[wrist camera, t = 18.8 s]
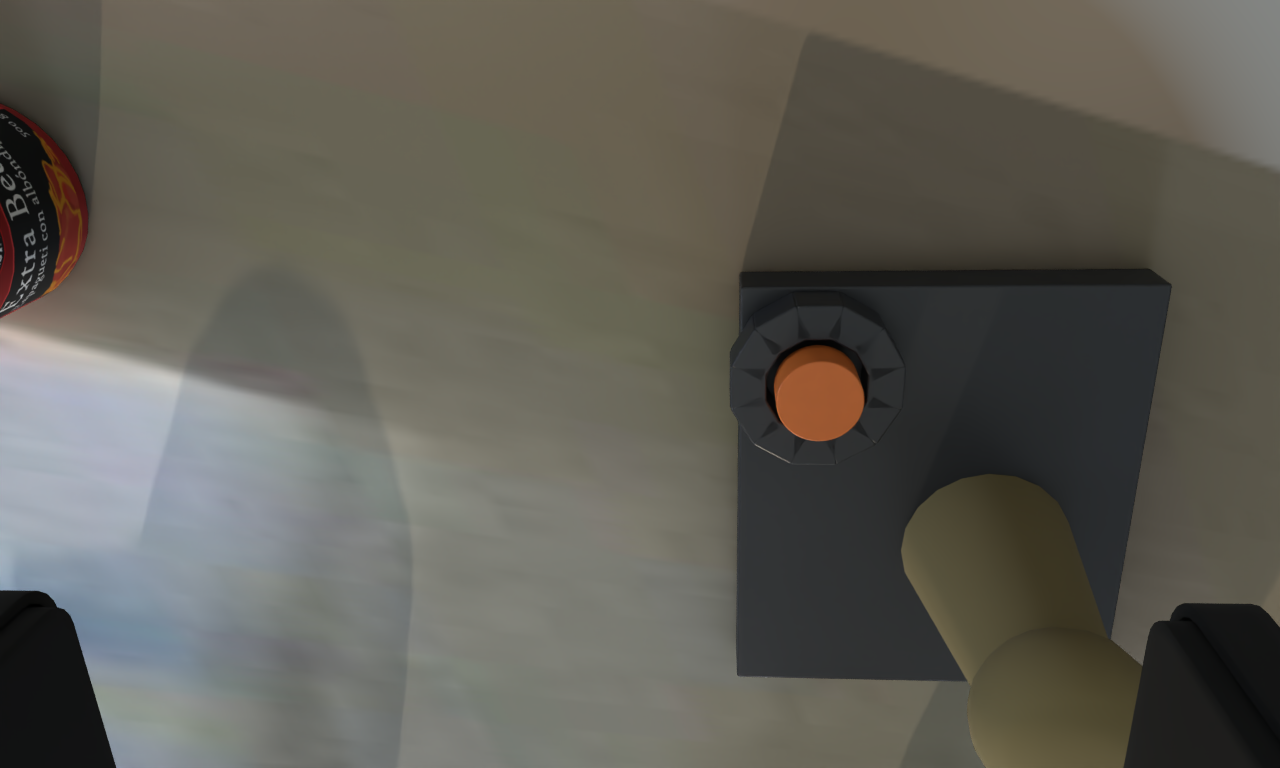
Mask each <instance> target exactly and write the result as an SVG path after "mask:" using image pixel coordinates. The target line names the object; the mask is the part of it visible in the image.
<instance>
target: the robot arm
mask: <svg viewBox="0 0 1280 768" xmlns="http://www.w3.org/2000/svg"><path fill="white" fill-rule="evenodd" d="M0 768H116V765H115V762H114V758H113V755H112V752H111V748H110V745H109V741H108V738H107V735H106V731H105V728H104V725H103V721H102V718H101V714H100V711H99V708H98V704H97V701H96V698H95V694H94V691H93V687H92V684H91V681H90V677H89V674H88V670H87V667H86V664H85V660H84V657H83V654H82V650H81V647H80V643H79V640H78V637H77V633H76V630H75V626H74V623H73V621H72V619H71V616H70V615H69V614H68V613H67V612H66V611H65V610H64V609H61V608H57V606H56V604H55V602H54V600H53V599H52V598H51V597H50V596H49V595H48V594H46V593H43V592H40V591H0ZM1123 768H1280V627H1279V626H1278V625H1277V624H1276V622H1275V621H1274V620H1273V619H1272V618H1271V616H1270V615H1269V614H1268V613H1267V612H1266V611H1265V610H1263V609H1262V608H1261V607H1260V606H1257V605H1253V604H1202V603H1183V604H1181V605H1179V606H1177V607H1176V609H1175V610H1174V612H1173V613H1172V615H1171V619H1170V621H1158V622H1155V623H1154V624H1153V626H1152V627H1151V629H1150V632H1149V636H1148V640H1147V646H1146V651H1145V656H1144V661H1143V667H1142V672H1141V677H1140V683H1139V688H1138V693H1137V698H1136V704H1135V709H1134V714H1133V720H1132V725H1131V730H1130V736H1129V741H1128V746H1127V751H1126V757H1125V762H1124V767H1123Z"/></svg>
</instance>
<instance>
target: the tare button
mask: <svg viewBox="0 0 1280 768" xmlns="http://www.w3.org/2000/svg"><path fill="white" fill-rule="evenodd" d="M774 393H775V400H776V408H777V412H778V415H779V418H780V420H781V421H782V423H783V424H784V426H785V427H786V428H787V429H788V430H789V431H791V432H792V433H793V434H795V435H796V436H798V437H801V438H803V439H806V440H811V441H827V440H831V439H835V438H837V437H840V436H842V435H843V434H845V433H846V432H848V431H849V430H850V429H851V428H852V427H853V426H854V425H855V424H856V423H857V421H858V420H859V418H860V416H861V414H862V412H863V408H864V391H863V388H862V385H861V382H860V379H859V376H858V373H857V370H856V368H855V366H854V364H853V362H852V361H851V360H850V359H849V357H848V356H846V355H845V354H844V353H843V352H841V351H839V350H837V349H835V348H833V347H830V346H825V345H811V346H806V347H803V348H800V349H798V350H796V351H794V352H793V353H791V354H790V355H788V356H787V357H786V358H785V359H784V360H783V362H782V363H781V364H780V366H779V368H778V369H777V372H776V374H775V379H774Z"/></svg>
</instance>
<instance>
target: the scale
mask: <svg viewBox="0 0 1280 768" xmlns="http://www.w3.org/2000/svg"><path fill="white" fill-rule="evenodd" d="M1171 288H1172V286H1171V284H1170V283H1169V282H1167V281H1166V280H1164V279H1163V278H1162V277H1160V276H1159V275H1157V274H1156V273H1155V272H1153V271H1152V270H1150V269H1087V270H956V271H826V272H742V273H740V289H739V337H738V338H737V340H736V342H735V343H734V345H733V346H732V348H731V351H730V407H731V410H732V412H733V413H734V415H735V417H736V418H737V420H738V511H737V623H736V655H737V675H738V676H739V677H781V678H828V679H874V680H921V681H967V679H966V678H965V676H964V674H963V672H962V671H961V669H960V667H959V665H958V664H957V662H956V660H955V659H954V657H953V655H952V653H951V652H950V650H949V648H948V646H947V645H946V643H945V641H944V639H943V638H942V636H941V634H940V632H939V631H938V629H937V627H936V626H935V624H934V622H933V620H932V619H931V617H930V615H929V613H928V612H927V610H926V608H925V606H924V605H923V603H922V601H921V600H920V598H919V596H918V594H917V593H916V591H915V589H914V587H913V586H912V584H911V582H910V580H909V579H908V577H907V575H906V573H905V571H904V565H903V559H902V554H901V548H902V543H903V538H904V533H905V528H906V526H907V525H908V523H909V521H910V520H911V518H912V516H913V515H914V513H915V511H916V510H917V508H918V507H919V506H920V505H921V504H922V503H923V502H925V501H926V500H927V499H928V498H929V497H930V496H931V495H932V494H934V493H935V492H936V491H937V490H939V489H941V488H943V487H945V486H947V485H949V484H951V483H954V482H956V481H958V480H960V479H962V478H968V477H974V476H979V475H985V474H996V475H1006V476H1016V477H1018V478H1021V479H1023V480H1026V481H1028V482H1031V483H1033V484H1035V485H1038V486H1040V487H1041V488H1042V489H1043V490H1045V491H1046V492H1047V493H1048V494H1049V495H1050V496H1051V497H1053V498H1054V499H1055V500H1056V501H1057V502H1058V503H1059V505H1060V507H1061V509H1062V511H1063V513H1064V515H1065V517H1066V518H1067V520H1068V522H1069V525H1070V528H1071V531H1072V534H1073V537H1074V540H1075V543H1076V546H1077V549H1078V552H1079V554H1080V557H1081V560H1082V563H1083V566H1084V569H1085V572H1086V575H1087V578H1088V581H1089V584H1090V587H1091V590H1092V593H1093V596H1094V598H1095V601H1096V604H1097V607H1098V610H1099V613H1100V616H1101V619H1102V622H1103V625H1104V628H1105V631H1106V634H1107V637H1108V639H1111V633H1112V627H1113V621H1114V616H1115V610H1116V604H1117V598H1118V593H1119V587H1120V581H1121V575H1122V570H1123V564H1124V558H1125V552H1126V547H1127V541H1128V535H1129V529H1130V524H1131V518H1132V512H1133V506H1134V501H1135V495H1136V489H1137V483H1138V478H1139V472H1140V466H1141V460H1142V455H1143V449H1144V443H1145V437H1146V432H1147V426H1148V420H1149V414H1150V409H1151V403H1152V397H1153V391H1154V385H1155V380H1156V374H1157V368H1158V362H1159V357H1160V351H1161V345H1162V339H1163V334H1164V328H1165V322H1166V316H1167V311H1168V305H1169V299H1170V293H1171ZM811 345H825V346H830V347H833V348H835V349H837V350H839V351H841V352H843V353H844V354H845V355H846V356H848V357H849V359H850V360H851V361H852V362H853V364H854V366H855V368H856V370H857V373H858V376H859V379H860V382H861V385H862V388H863V391H864V408H863V412H862V414H861V416H860V418H859V420H858V421H857V423H856V424H855V425H854V426H853V427H852V428H851V429H850V430H849V431H848V432H846V433H845V434H843V435H842V436H840V437H837V438H835V439H831V440H827V441H811V440H806V439H803V438H801V437H798V436H796V435H795V434H793V433H792V432H791V431H789V430H788V429H787V428H786V427H785V426H784V424H783V423H782V421H781V420H780V418H779V415H778V412H777V408H776V400H775V393H774V379H775V374H776V372H777V369H778V368H779V366H780V364H781V363H782V362H783V360H784V359H785V358H786V357H787V356H788V355H790V354H791V353H793V352H794V351H796V350H798V349H800V348H803V347H806V346H811ZM967 682H968V681H967Z"/></svg>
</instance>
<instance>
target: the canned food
mask: <svg viewBox="0 0 1280 768" xmlns="http://www.w3.org/2000/svg"><path fill="white" fill-rule="evenodd" d="M87 234H88V211H87V205H86V199H85V195H84V192H83V189H82V186H81V184H80V181H79V178H78V176H77V174H76V172H75V171H74V169H73V167H72V165H71V164H70V162H69V160H68V158H67V157H66V155H65V154H64V153H63V152H62V150H61V149H60V148H59V147H58V146H57V144H56V143H55V142H54V141H53V139H52V138H51V137H49V136H48V135H47V134H46V133H45V132H44V131H43V130H42V129H41V128H40V127H38V126H37V125H36V124H35V123H34V122H32V121H31V120H29V119H28V118H26V117H25V116H23V115H22V114H20V113H18V112H17V111H15V110H13V109H11V108H9V107H6V106H4V105H2V104H0V318H2V317H4V316H6V315H8V314H10V313H12V312H14V311H16V310H17V309H19V308H21V307H23V306H25V305H27V304H29V303H31V302H33V301H35V300H37V299H39V298H41V297H43V296H44V295H46V294H47V293H49V292H51V291H52V290H54V289H55V288H57V287H58V285H59V284H60V283H61V282H62V281H63V280H64V279H65V278H66V277H67V276H68V275H69V273H70V272H71V270H72V269H73V267H74V266H75V264H76V263H77V261H78V259H79V257H80V255H81V253H82V252H83V249H84V245H85V242H86V238H87Z"/></svg>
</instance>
